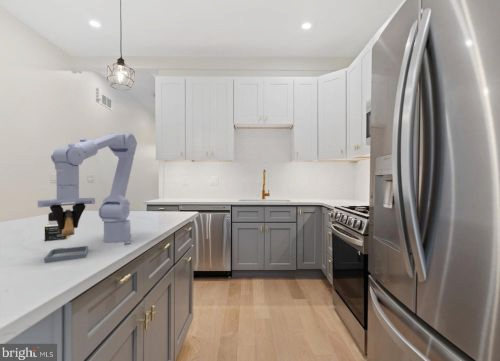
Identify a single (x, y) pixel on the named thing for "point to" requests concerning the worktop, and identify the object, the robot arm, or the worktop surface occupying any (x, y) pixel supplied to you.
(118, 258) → the worktop surface
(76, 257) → the tray
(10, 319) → the worktop surface
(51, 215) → the medicine bottle
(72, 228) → the cell
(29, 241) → the worktop surface
